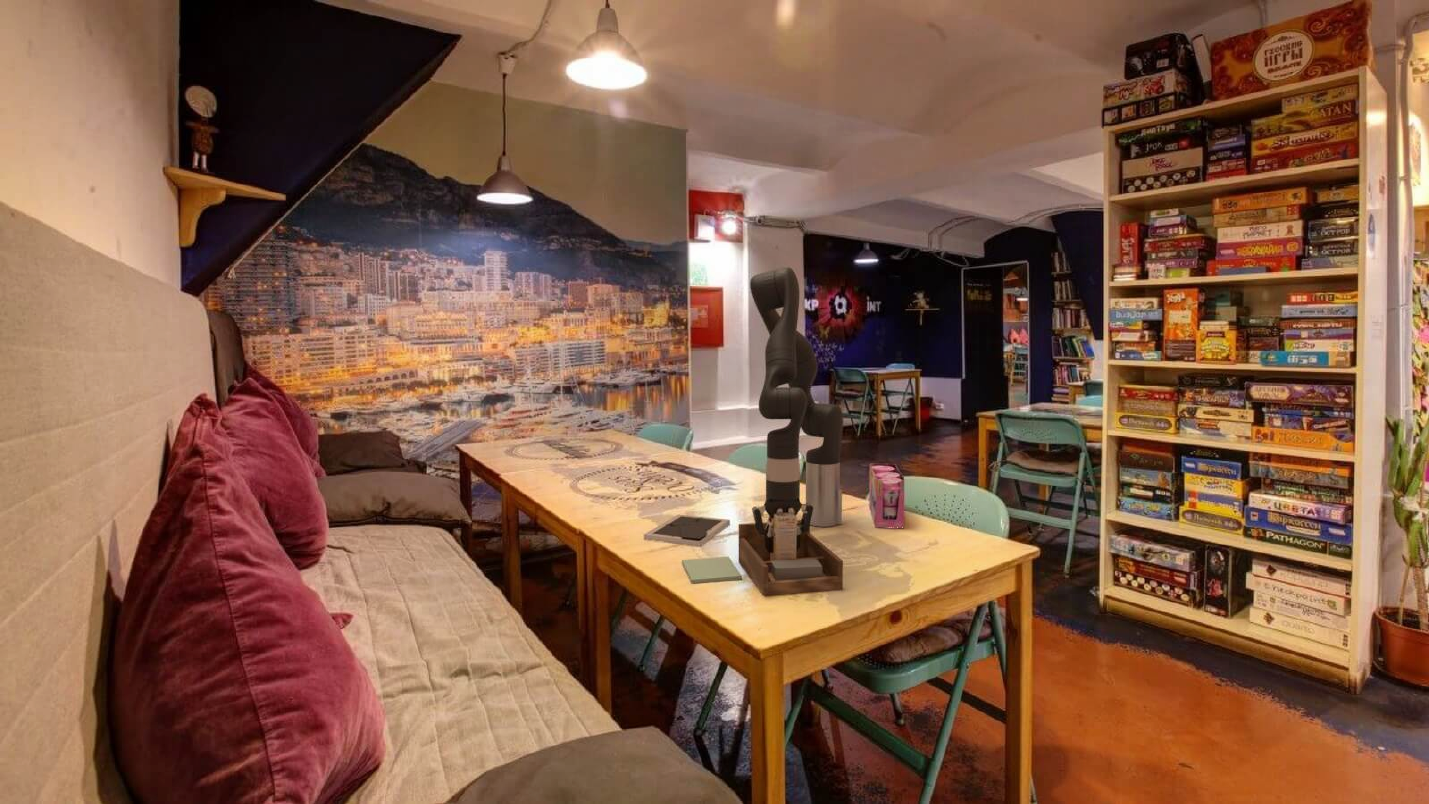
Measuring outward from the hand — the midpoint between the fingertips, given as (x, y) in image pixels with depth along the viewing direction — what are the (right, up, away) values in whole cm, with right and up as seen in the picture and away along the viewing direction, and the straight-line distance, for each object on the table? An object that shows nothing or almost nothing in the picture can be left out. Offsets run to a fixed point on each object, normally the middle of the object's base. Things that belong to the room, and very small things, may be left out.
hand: (782, 550), depth 155 cm
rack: (+1, -5, -4) cm, 6 cm away
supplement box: (0, -4, 0) cm, 4 cm away
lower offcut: (+2, -6, -9) cm, 11 cm away
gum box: (+34, 0, +42) cm, 54 cm away
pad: (-16, -4, -1) cm, 17 cm away
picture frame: (-22, -2, +29) cm, 37 cm away
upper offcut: (+2, -3, -9) cm, 10 cm away
